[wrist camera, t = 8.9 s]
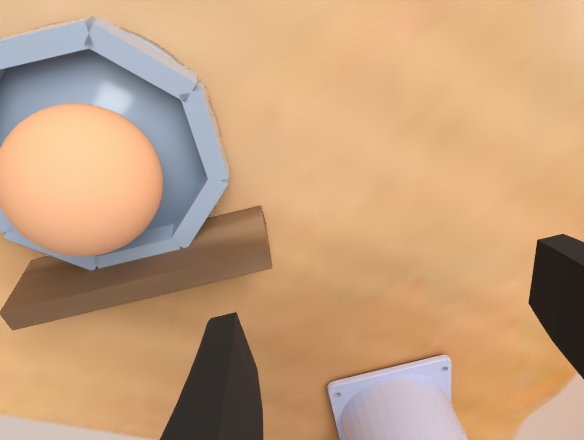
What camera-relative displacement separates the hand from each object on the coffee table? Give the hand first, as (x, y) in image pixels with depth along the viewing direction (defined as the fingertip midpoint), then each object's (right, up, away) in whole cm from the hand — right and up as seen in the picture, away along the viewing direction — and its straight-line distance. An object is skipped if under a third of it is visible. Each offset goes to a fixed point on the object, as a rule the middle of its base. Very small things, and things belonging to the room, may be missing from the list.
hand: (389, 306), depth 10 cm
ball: (-10, +5, +7) cm, 13 cm away
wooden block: (-9, +1, +10) cm, 14 cm away
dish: (-10, +5, +8) cm, 14 cm away
